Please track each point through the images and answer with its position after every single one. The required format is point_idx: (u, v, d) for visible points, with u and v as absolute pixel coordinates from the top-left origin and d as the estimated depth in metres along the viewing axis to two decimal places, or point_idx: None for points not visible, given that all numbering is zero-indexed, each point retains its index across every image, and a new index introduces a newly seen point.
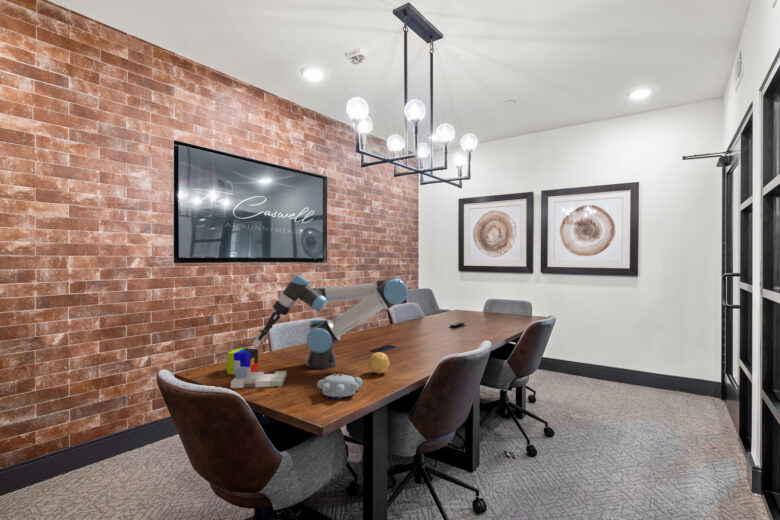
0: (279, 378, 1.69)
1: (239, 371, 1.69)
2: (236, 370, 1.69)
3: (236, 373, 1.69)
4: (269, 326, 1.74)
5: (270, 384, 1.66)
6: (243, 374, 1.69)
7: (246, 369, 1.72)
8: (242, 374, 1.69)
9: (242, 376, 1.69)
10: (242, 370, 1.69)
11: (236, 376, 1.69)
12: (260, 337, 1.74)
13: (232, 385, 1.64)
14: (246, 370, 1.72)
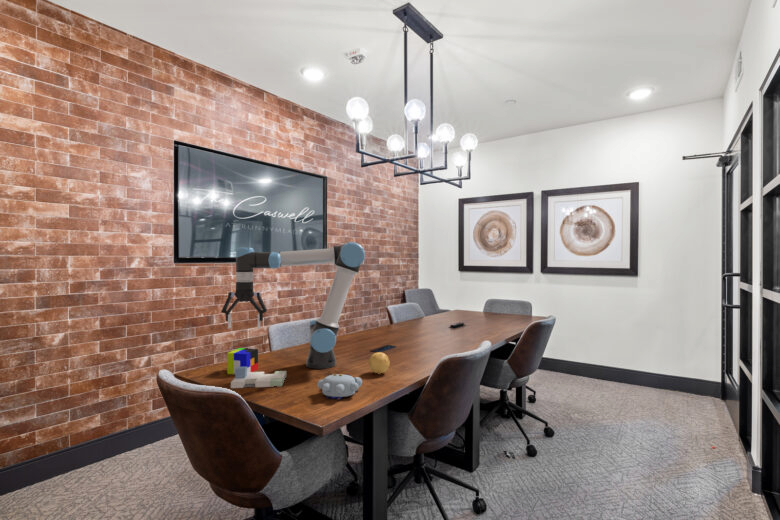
0: (279, 378, 1.69)
1: (239, 371, 1.69)
2: (236, 370, 1.69)
3: (236, 373, 1.69)
4: (263, 303, 1.79)
5: (270, 384, 1.66)
6: (243, 374, 1.69)
7: (246, 369, 1.72)
8: (242, 374, 1.69)
9: (242, 376, 1.69)
10: (242, 370, 1.69)
11: (236, 376, 1.69)
12: (262, 317, 1.79)
13: (232, 385, 1.64)
14: (246, 370, 1.72)
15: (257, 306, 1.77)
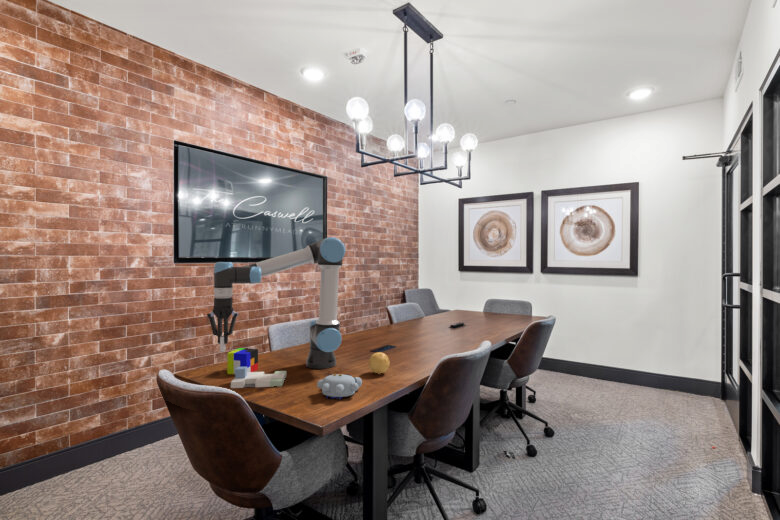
0: (279, 378, 1.69)
1: (239, 371, 1.69)
2: (236, 370, 1.69)
3: (236, 373, 1.69)
4: (233, 326, 1.71)
5: (270, 384, 1.66)
6: (243, 374, 1.69)
7: (246, 369, 1.72)
8: (242, 374, 1.69)
9: (242, 376, 1.69)
10: (242, 370, 1.69)
11: (236, 376, 1.69)
12: (227, 340, 1.70)
13: (232, 385, 1.64)
14: (246, 370, 1.72)
15: (226, 328, 1.69)
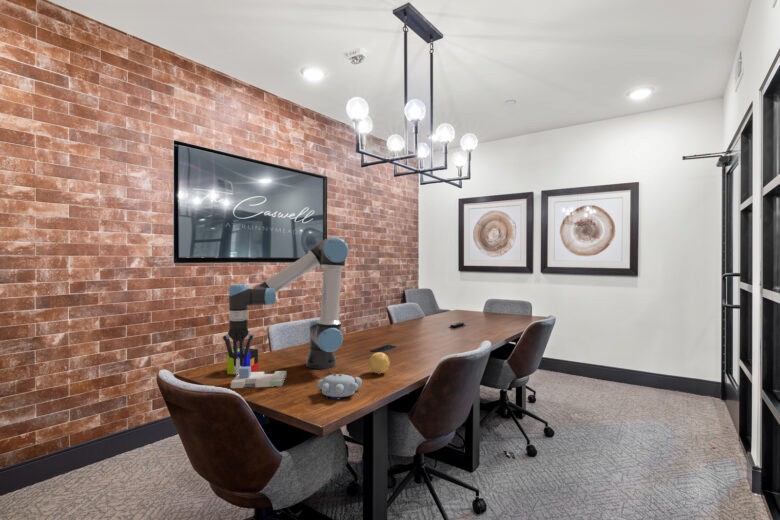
0: (279, 378, 1.69)
1: (243, 371, 1.69)
2: (240, 370, 1.69)
3: (240, 373, 1.69)
4: None
5: (270, 384, 1.66)
6: (247, 374, 1.69)
7: (250, 369, 1.72)
8: (246, 374, 1.69)
9: (246, 376, 1.69)
10: (246, 370, 1.69)
11: (240, 376, 1.69)
12: (243, 362, 1.71)
13: (232, 385, 1.64)
14: (250, 370, 1.72)
15: (242, 350, 1.70)
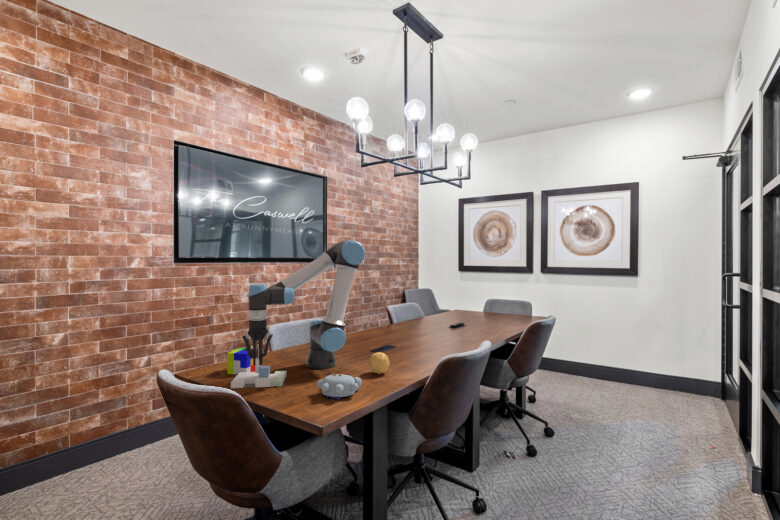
0: (279, 378, 1.69)
1: (262, 370, 1.70)
2: (259, 369, 1.70)
3: (259, 372, 1.70)
4: (268, 347, 1.72)
5: (270, 384, 1.66)
6: (266, 373, 1.70)
7: (269, 368, 1.73)
8: (265, 373, 1.70)
9: (265, 375, 1.70)
10: (265, 369, 1.70)
11: (259, 375, 1.70)
12: (262, 361, 1.72)
13: (232, 385, 1.64)
14: (269, 369, 1.73)
15: (261, 349, 1.71)
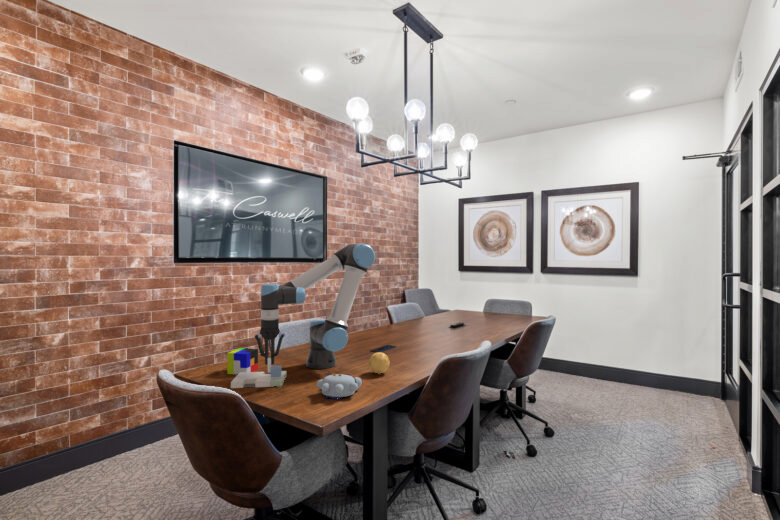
0: (279, 378, 1.69)
1: (274, 370, 1.71)
2: (271, 369, 1.70)
3: (271, 372, 1.70)
4: None
5: (270, 384, 1.66)
6: (278, 373, 1.71)
7: None
8: (277, 373, 1.71)
9: (277, 375, 1.71)
10: (277, 369, 1.71)
11: (271, 375, 1.70)
12: None
13: (232, 385, 1.64)
14: None
15: (273, 349, 1.71)
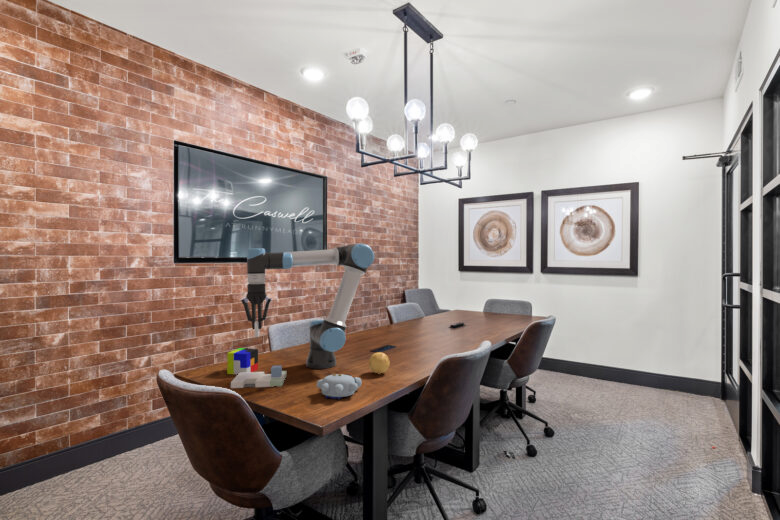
0: (279, 378, 1.69)
1: (275, 370, 1.71)
2: (272, 369, 1.70)
3: (272, 372, 1.70)
4: (267, 311, 1.72)
5: (270, 384, 1.66)
6: (279, 373, 1.71)
7: (281, 368, 1.74)
8: (277, 373, 1.71)
9: (278, 375, 1.71)
10: (278, 369, 1.71)
11: (272, 375, 1.70)
12: (261, 325, 1.72)
13: (232, 385, 1.64)
14: (281, 369, 1.74)
15: (260, 313, 1.71)
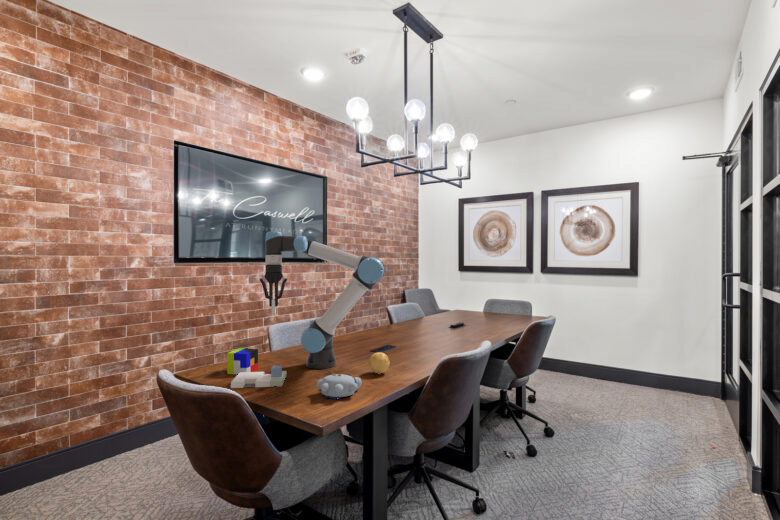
0: (279, 378, 1.69)
1: (275, 370, 1.71)
2: (272, 369, 1.70)
3: (272, 372, 1.70)
4: (283, 290, 1.87)
5: (270, 384, 1.66)
6: (279, 373, 1.71)
7: (281, 368, 1.74)
8: (277, 373, 1.71)
9: (278, 375, 1.71)
10: (278, 369, 1.71)
11: (272, 375, 1.70)
12: (277, 303, 1.86)
13: (232, 385, 1.64)
14: (281, 369, 1.74)
15: (277, 291, 1.85)
